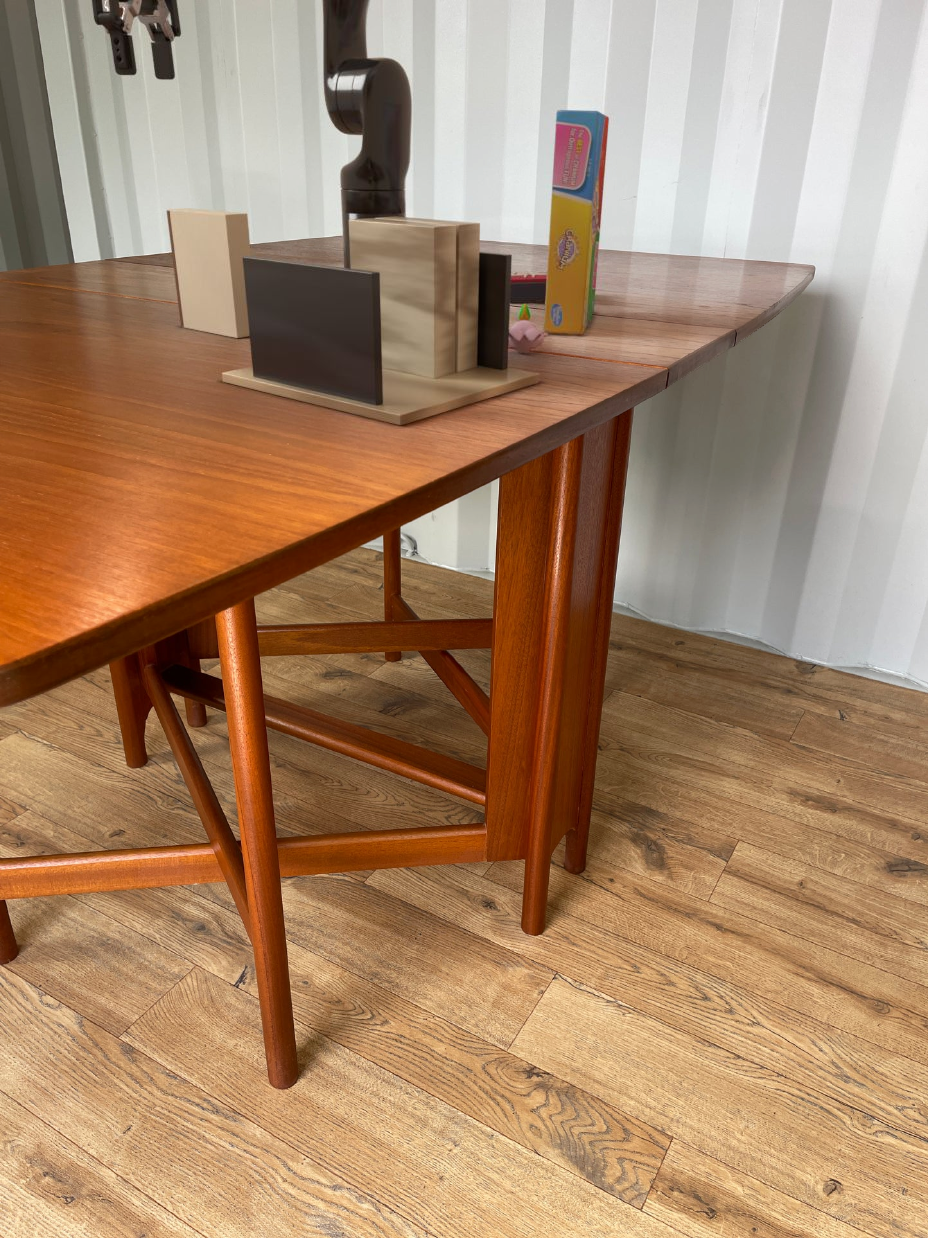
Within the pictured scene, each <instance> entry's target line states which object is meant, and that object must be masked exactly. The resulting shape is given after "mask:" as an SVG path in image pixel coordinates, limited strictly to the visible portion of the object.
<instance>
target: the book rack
mask: <svg viewBox="0 0 928 1238" xmlns="http://www.w3.org/2000/svg"><path fill="white" fill-rule="evenodd" d="M349 239H350V264H351V269H350V268H344V267H342V266H335V265H334V266H333V265H325V264H319V263H318V264H317V263H309V262H303V261H302V262H301V261H293V260H286V259H279V258H271V257H270V258H269V257H263V256H253V255H251V256H244V257H242V258H243V269H244V280H245V291H246V302H247V313H248V324H249V335H250V336H249V345H250V355H251V366H248V367H243V368H238V369H234V370H228V371H224V372H221V379H222V382H223V383H227V384H230V385H234V386H239V387H242V388H245V389H251V390H255V391H259V392H263V393H267V394H271V395H275V396H278V397H283V398H286V399H292V400H295V401H299V402H304V403H306V404H307V403H308V404H311V405H316V406H320V407H323V408H328V409H331V410H336V411H340V412H344V413H348V414H352V415H357V416H360V417H364V418H368V419H372V420H376V421H381V422H385V423H389V424H392V425H397V426H404V425H407V424H410V423H414V422H417V421H420V420H424V419H426V418H430V417H433V416H436V415H440V414H443V413H445V412H449V411H451V410H452V411H453V410H455V409H459V408H461V407H465V406H468V405H471V404H474V403H478V402H481V401H484V400H487V399H490V398H493V397H494V398H495V397H497V396H500V395H504V394H506V393H510V392H513V391H516V390H520V389H523V388H526V387H529V386H532V385H536V384H538V383H539V384H540V373H538V372H533V371H529V370H522V369H516V368H510V367H508V366H509V346H508V344H509V330H510V316H511V315H510V313H511V302H510V289H511V272H512V259H513V255H512V254H509V253H499V252H490V251H489V252H488V251H480V243H481V241H480V239H481V223H480V222H470V221H458V220H445V219H434V218H433V219H432V218H419V217H409V216H408V217H407V216H406V217H396V216H395V217H381V218H367V219H353V220H349Z"/></svg>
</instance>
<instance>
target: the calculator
mask: <svg viewBox="0 0 928 1238" xmlns="http://www.w3.org/2000/svg"><path fill="white" fill-rule="evenodd" d="M546 281H547V269H546V270H545V269H544V270H534V271H533V270H532V271H530V274H529V271H516V270H514V271H511V289H510V303H527V302H528V303H530V302H533V303H534V302H545V298H546Z"/></svg>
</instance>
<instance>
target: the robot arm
mask: <svg viewBox="0 0 928 1238" xmlns="http://www.w3.org/2000/svg"><path fill="white" fill-rule="evenodd" d="M370 2H371V0H322V28H323V29H322V31H323V33H322V37H323V39H322V40H323V41H322V44H323V45H322V49H323V50H322V52H323V53H322V55H323V56H322V64H323V65H322V66H323V67H322V68H323V69H322V70H323V72H322V73H323V75H322V79H323V80H322V81H323V94H324V95H323V96H324V102H325V107H326V111H327V115H328V116H329V117H328V118H329V119H330V121H331V124H333V126H334V128H335V129H337V130H338V131H339V132H340V133H342V134H344V135H348V136H362V137H361V139H362V140H361V147H360V151H359V153H358V154H357V155H356V157H355V158H354V159H352V160H351V161H350V162H348V163H346V164H344V165H343V166H342V167H341V168H340V174H339V180H340V200H341V201H340V202H341V206H340V207H341V223H342V224H341V226H342V227H341V228H342V246H343V251H342V252H343V268H350V269H351V264H350V239H349V220H353V219H367V218H381V217H395V216H396V217H407V214H406V212H407V211H406V210H407V208H406V207H407V206H406V201H407V200H406V182H407V181H406V180H407V175H408V172H409V168H410V164H411V152H412V151H411V150H412V149H411V147H412V126H413V125H412V123H413V122H412V121H413V99H412V98H413V97H412V90H411V84H410V80H409V77H408V75H407V72H406V70H405V69H404V66H402V65H401V63H400V62H398V61H397V60H395V59H393V58H390V57H368V43H367V25H368V23H367V22H368V14H369V13H368V12H369V6H370ZM91 6H92V14H93V20H94V22H95V24H96V25H97V26H102V27H103V28H104V30H105V32H106V34H108V35H109V39H110V46H111V52H112V59H113V65H114V71H115V73H116V74H117V75H119V76H135V75H136V74H137V63H136V55H135V47H134V40H133V35H131V32H132V29H133V24H134V19H135V18H136V17H137V19H138V21H139V22H140V23H141V24H143V25H144V26H145V28H146V31H147V33H148V35H149V37H150V39H151V42H150V46H151V55H152V62H153V71H154V76H155V78H156V79H157V80H161V81H163V80H165V81H167V80H168V81H170V80H171V81H172V80H174V79H175V78H176V73H175V65H174V64H175V63H174V56H173V48H172V42H174V41H175V38H176V37H177V38H179V37H181V35H182V29H181V23H180V13H179V8H178V0H104V6H103V0H91ZM104 8H105V9H106V10H105V11H104ZM169 17H170V20H169Z"/></svg>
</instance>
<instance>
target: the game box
mask: <svg viewBox="0 0 928 1238" xmlns="http://www.w3.org/2000/svg"><path fill="white" fill-rule="evenodd" d="M555 115H556V116H555V130H554V131H555V132H554V147H553V148H554V150H553V167H552V179H551V180H552V181H551V182H552V183H551V199H550V215H549V217H550V219H549V231H548V232H549V234H548V249H547V250H548V251H547V266H546V267H547V268H546V271H547V281H546V298H545V301H544V316H543V317H544V318H543V330H544V331H543V333H548V334H549V333H550V334H567V335H582V334H583V333H584V331H585V329H586V328H587V326H588V324H589V322H590V320H591V318H592V316H593V314H594V312H595V302H596V301H595V300H596V289H597V288H596V286H597V272H598V271H597V270H598V261H599V260H598V259H599V249H600V236H601V223H602V211H603V198H604V185H605V184H604V183H605V173H606V160H607V147H608V136H609V125H610V123H609V122H610V117H609V116H607V115H606V114H604V113H602V112H600V111H598V110H581V109H580V110H577V109H576V110H575V109H559V110H556V114H555Z"/></svg>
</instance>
